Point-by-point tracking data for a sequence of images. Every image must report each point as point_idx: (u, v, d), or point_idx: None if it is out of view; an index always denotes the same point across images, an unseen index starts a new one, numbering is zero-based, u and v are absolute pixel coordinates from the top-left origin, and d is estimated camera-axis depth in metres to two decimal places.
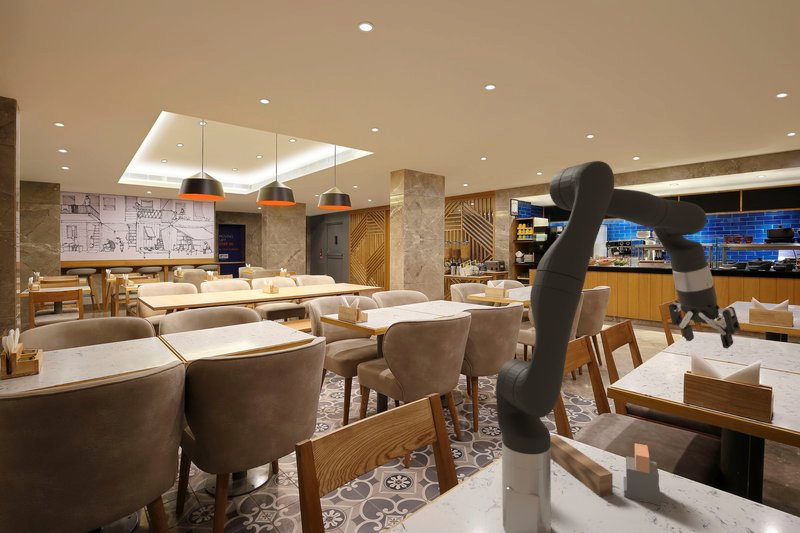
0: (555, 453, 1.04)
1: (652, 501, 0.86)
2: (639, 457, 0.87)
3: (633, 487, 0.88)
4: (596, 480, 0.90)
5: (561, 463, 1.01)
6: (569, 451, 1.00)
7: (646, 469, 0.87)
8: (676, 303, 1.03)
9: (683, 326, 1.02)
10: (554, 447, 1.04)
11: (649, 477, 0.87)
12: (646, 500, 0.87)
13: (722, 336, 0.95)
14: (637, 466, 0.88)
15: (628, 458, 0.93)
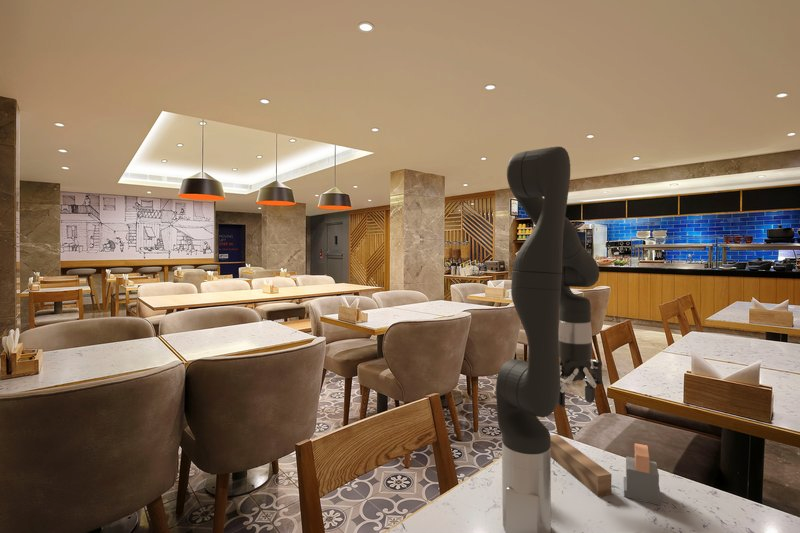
0: (556, 452, 1.04)
1: (652, 501, 0.86)
2: (639, 457, 0.87)
3: (633, 487, 0.88)
4: (594, 480, 0.90)
5: (562, 462, 1.02)
6: (569, 451, 1.00)
7: (646, 469, 0.87)
8: None
9: (563, 389, 0.96)
10: (555, 446, 1.04)
11: (649, 477, 0.87)
12: (646, 500, 0.87)
13: (592, 389, 0.99)
14: (637, 466, 0.88)
15: (628, 458, 0.93)
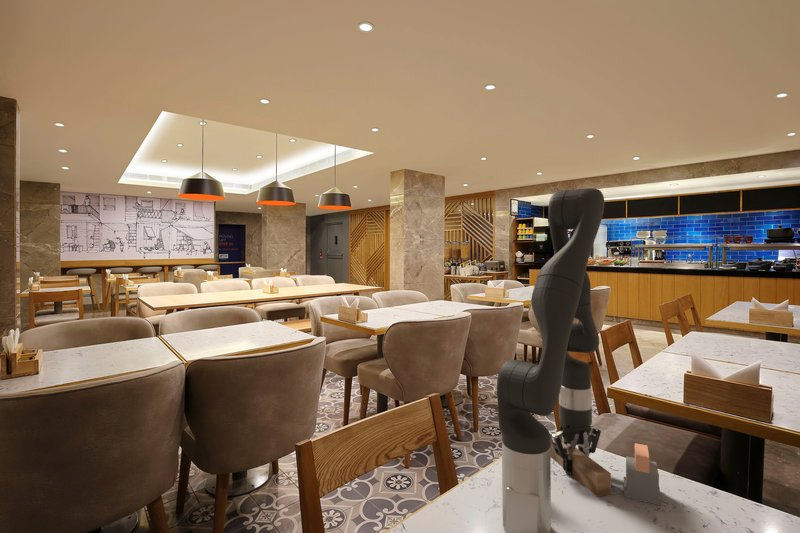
0: None
1: (652, 501, 0.86)
2: (639, 457, 0.87)
3: (633, 487, 0.88)
4: (594, 479, 0.90)
5: (562, 461, 1.02)
6: None
7: (646, 469, 0.87)
8: (555, 434, 0.97)
9: (571, 457, 0.97)
10: None
11: (649, 477, 0.87)
12: (646, 500, 0.87)
13: None
14: (637, 466, 0.88)
15: (628, 458, 0.93)
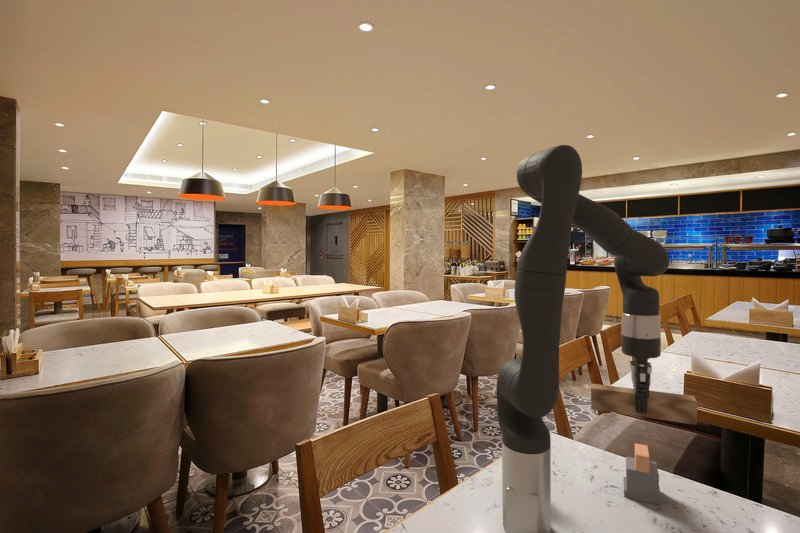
0: (614, 400, 0.90)
1: (652, 501, 0.86)
2: (639, 457, 0.87)
3: (633, 487, 0.88)
4: (690, 407, 0.84)
5: (626, 408, 0.89)
6: None
7: (646, 469, 0.87)
8: (641, 371, 0.84)
9: None
10: (612, 394, 0.90)
11: (649, 477, 0.87)
12: (646, 500, 0.87)
13: None
14: (637, 466, 0.88)
15: (628, 458, 0.93)
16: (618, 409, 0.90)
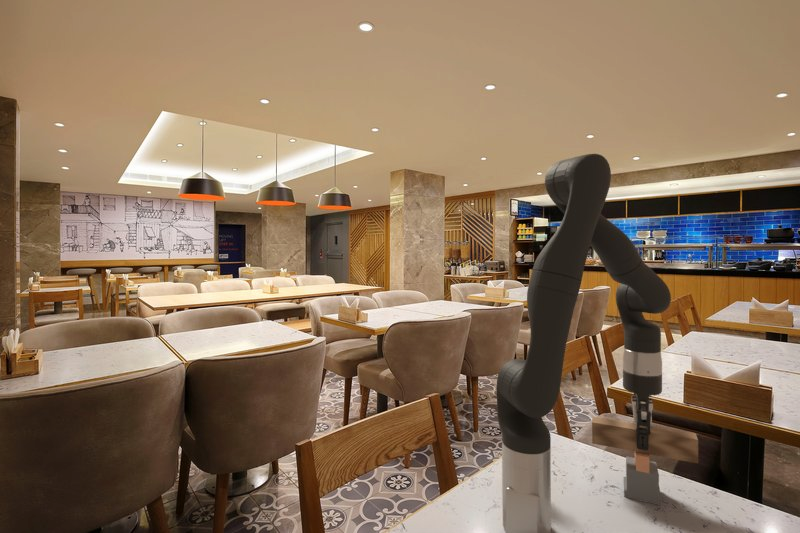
0: (615, 435, 0.90)
1: (652, 501, 0.86)
2: (639, 457, 0.87)
3: (633, 487, 0.88)
4: (692, 446, 0.84)
5: (627, 444, 0.89)
6: None
7: (646, 469, 0.87)
8: (643, 409, 0.84)
9: None
10: (613, 429, 0.90)
11: (649, 477, 0.87)
12: (646, 500, 0.87)
13: None
14: (637, 466, 0.88)
15: (628, 458, 0.93)
16: (619, 444, 0.90)
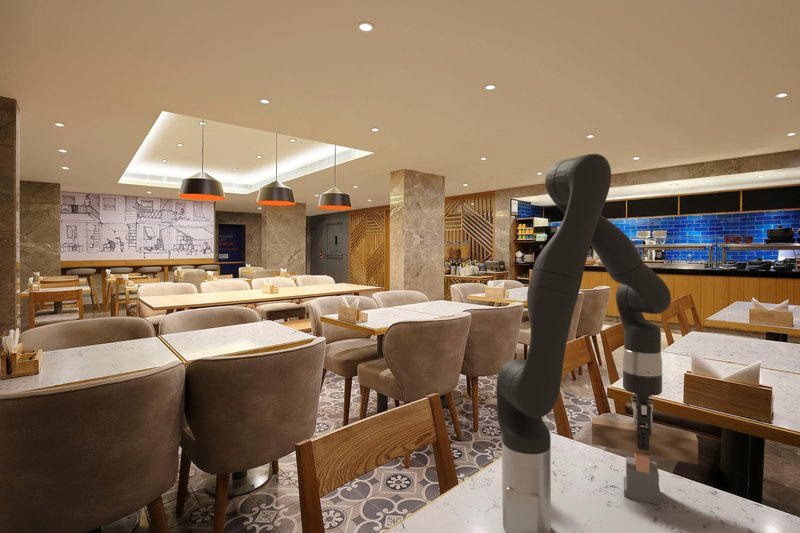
0: (615, 436, 0.90)
1: (652, 501, 0.86)
2: (639, 457, 0.87)
3: (633, 487, 0.88)
4: (691, 447, 0.84)
5: (627, 445, 0.89)
6: (635, 428, 0.89)
7: (646, 469, 0.87)
8: (643, 404, 0.84)
9: None
10: (613, 430, 0.90)
11: (649, 477, 0.87)
12: (646, 500, 0.87)
13: None
14: (637, 466, 0.88)
15: (628, 458, 0.93)
16: (619, 445, 0.90)
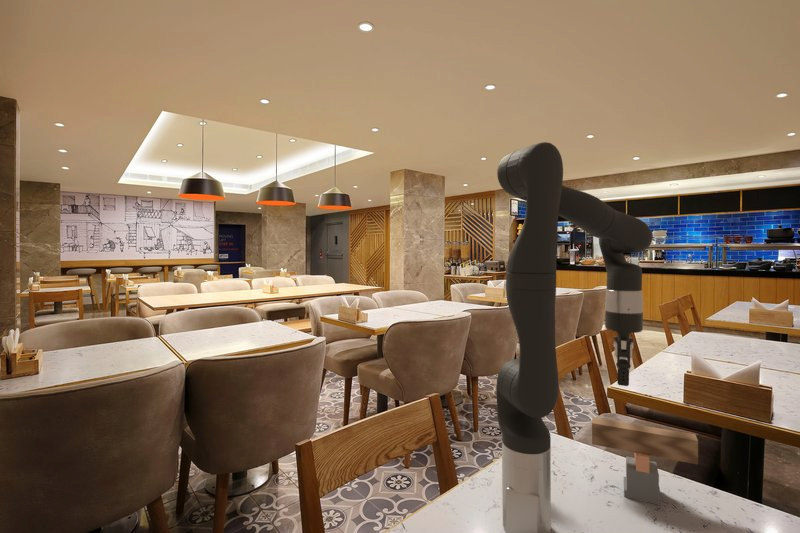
0: (615, 436, 0.90)
1: (652, 501, 0.86)
2: (639, 457, 0.87)
3: (633, 487, 0.88)
4: (691, 447, 0.84)
5: (627, 445, 0.89)
6: (635, 428, 0.89)
7: (646, 469, 0.87)
8: (623, 340, 0.86)
9: None
10: (613, 430, 0.90)
11: (649, 477, 0.87)
12: (646, 500, 0.87)
13: None
14: (637, 466, 0.88)
15: (628, 458, 0.93)
16: (619, 445, 0.90)
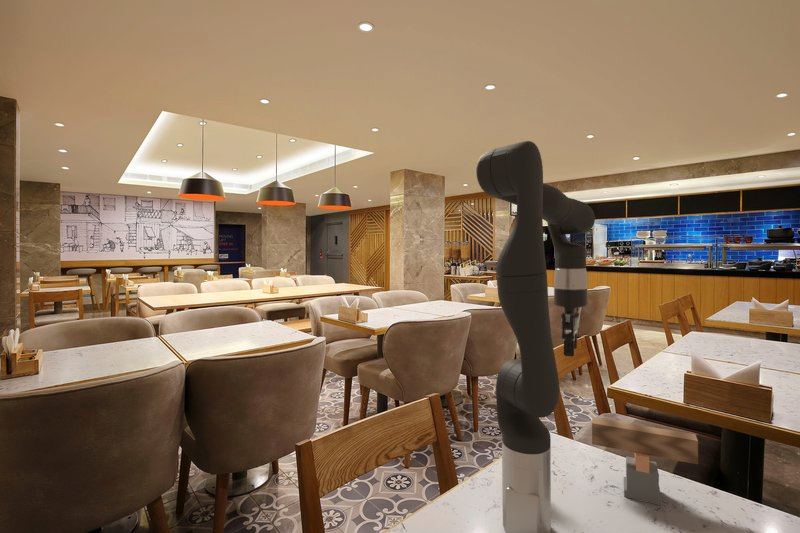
0: (615, 436, 0.90)
1: (652, 501, 0.86)
2: (639, 457, 0.87)
3: (633, 487, 0.88)
4: (691, 447, 0.84)
5: (627, 445, 0.89)
6: (635, 428, 0.89)
7: (646, 469, 0.87)
8: (567, 314, 0.93)
9: (574, 337, 0.94)
10: (613, 430, 0.90)
11: (649, 477, 0.87)
12: (646, 500, 0.87)
13: (576, 335, 1.02)
14: (637, 466, 0.88)
15: (628, 458, 0.93)
16: (619, 445, 0.90)
